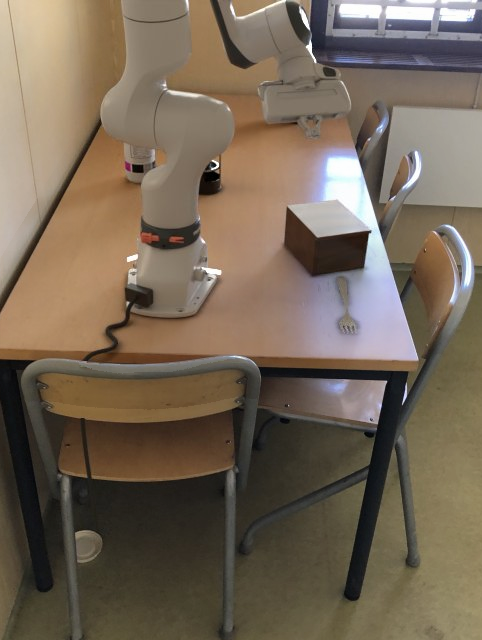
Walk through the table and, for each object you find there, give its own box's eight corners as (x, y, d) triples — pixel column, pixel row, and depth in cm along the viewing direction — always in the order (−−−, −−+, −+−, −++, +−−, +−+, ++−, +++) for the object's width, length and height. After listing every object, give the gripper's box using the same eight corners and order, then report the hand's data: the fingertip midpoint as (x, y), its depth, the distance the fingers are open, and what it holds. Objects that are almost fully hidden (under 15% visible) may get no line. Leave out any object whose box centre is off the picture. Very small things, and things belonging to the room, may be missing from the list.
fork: (348, 278, 151) (349, 270, 150) (358, 342, 131) (359, 334, 130) (333, 277, 151) (334, 270, 150) (341, 341, 131) (342, 333, 130)
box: (364, 268, 155) (369, 231, 150) (311, 276, 151) (315, 239, 146) (333, 237, 167) (337, 202, 162) (283, 244, 163) (286, 209, 158)
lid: (371, 233, 149) (371, 230, 149) (317, 241, 145) (317, 237, 145) (337, 202, 162) (337, 199, 162) (286, 208, 158) (286, 205, 158)
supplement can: (119, 180, 191) (115, 125, 182) (137, 170, 197) (134, 117, 188) (144, 186, 188) (141, 131, 179) (161, 176, 194) (159, 122, 185)
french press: (218, 197, 184) (218, 109, 171) (182, 193, 185) (180, 106, 172) (225, 180, 194) (226, 95, 180) (191, 177, 194) (190, 93, 181)
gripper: (259, 74, 149) (274, 134, 147) (345, 69, 155) (360, 126, 153) (251, 89, 155) (265, 147, 153) (335, 84, 161) (349, 140, 159)
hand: (314, 137), depth 153 cm, fingers closed
